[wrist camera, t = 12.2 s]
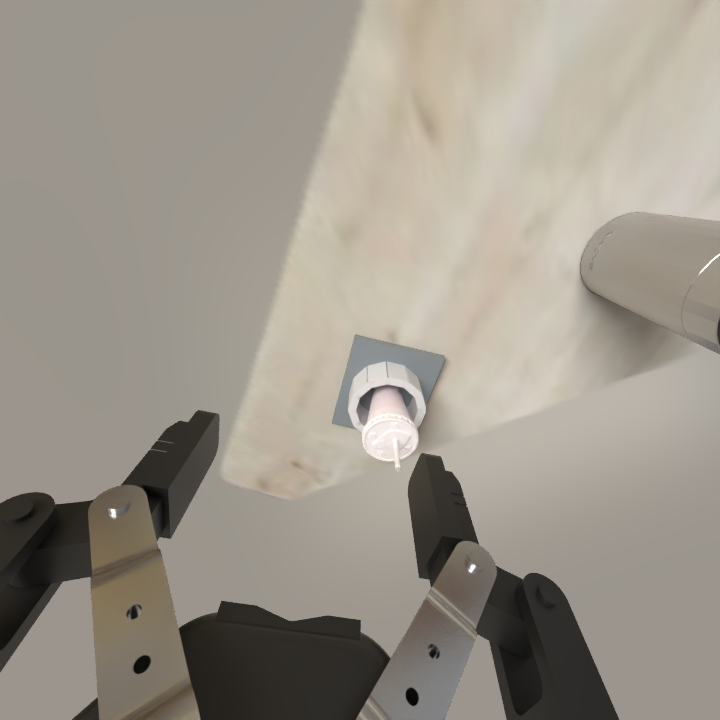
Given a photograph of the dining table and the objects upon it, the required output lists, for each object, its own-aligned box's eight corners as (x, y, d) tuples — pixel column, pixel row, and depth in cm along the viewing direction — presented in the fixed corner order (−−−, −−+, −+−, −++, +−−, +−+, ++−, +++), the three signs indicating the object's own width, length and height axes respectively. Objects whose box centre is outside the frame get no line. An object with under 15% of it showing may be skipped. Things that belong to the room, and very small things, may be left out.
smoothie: (416, 403, 47) (433, 483, 35) (373, 417, 48) (375, 499, 36) (400, 366, 44) (412, 438, 32) (355, 382, 46) (350, 457, 33)
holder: (443, 355, 45) (452, 374, 40) (410, 435, 51) (414, 459, 47) (355, 334, 43) (354, 352, 39) (332, 419, 50) (329, 442, 45)
